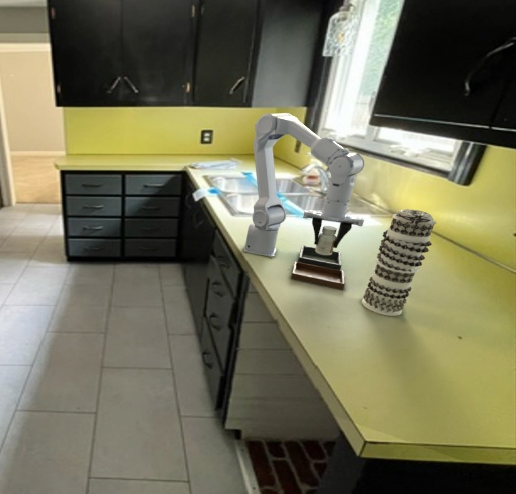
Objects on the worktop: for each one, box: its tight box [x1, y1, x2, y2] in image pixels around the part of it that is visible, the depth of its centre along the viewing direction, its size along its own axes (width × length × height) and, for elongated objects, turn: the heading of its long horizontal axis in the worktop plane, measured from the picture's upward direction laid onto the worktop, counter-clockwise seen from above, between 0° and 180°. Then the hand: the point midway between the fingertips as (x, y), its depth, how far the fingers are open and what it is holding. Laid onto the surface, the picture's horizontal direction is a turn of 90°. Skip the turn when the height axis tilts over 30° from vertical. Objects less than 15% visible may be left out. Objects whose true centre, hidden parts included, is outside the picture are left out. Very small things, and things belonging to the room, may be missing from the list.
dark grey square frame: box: [297, 244, 342, 270], centre depth 115 cm, size 11×11×3 cm
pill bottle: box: [315, 225, 338, 255], centre depth 104 cm, size 4×4×8 cm
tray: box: [290, 261, 346, 291], centre depth 106 cm, size 13×9×2 cm
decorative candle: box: [361, 208, 437, 317], centre depth 87 cm, size 9×9×25 cm
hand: (325, 245), depth 105 cm, fingers closed on pill bottle, 4 cm apart
